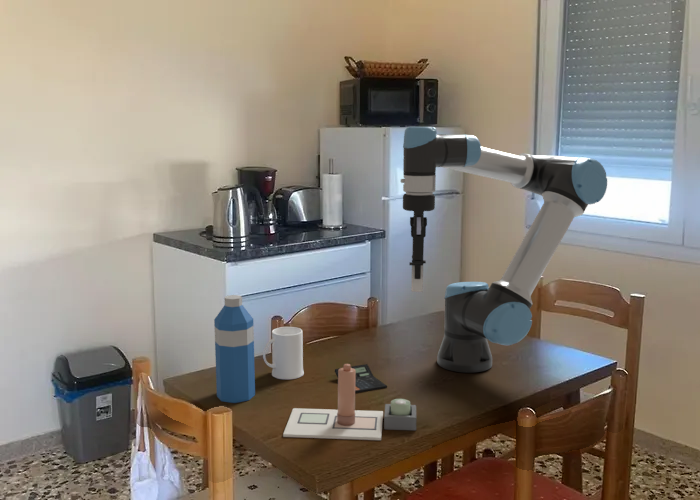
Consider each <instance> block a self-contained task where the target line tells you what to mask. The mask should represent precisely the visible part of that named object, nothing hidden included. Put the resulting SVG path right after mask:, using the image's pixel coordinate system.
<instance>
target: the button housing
mask: <svg viewBox="0 0 700 500" xmlns="http://www.w3.org/2000/svg"><path fill="white" fill-rule="evenodd" d="M383 419H384V420H383V421H384V422H383V427H384V428H383V430H389V431H393V430H394V431H417V405H416V404H410V415H391V403H384V414H383Z"/></svg>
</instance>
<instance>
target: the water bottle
mask: <svg viewBox="0 0 700 500" xmlns="http://www.w3.org/2000/svg"><path fill="white" fill-rule="evenodd" d="M213 320H214V350H215V351H214V352H215V353H214V355H215V377H216V378H215V380H216V381H215V382H216V397H217V398H218V399H219V400H220V402H225V403H231V404H237V403H241V402H242V403H243V402H247V401H250V400H251V399H252V398H254V396H255V395H256V383H255V382H256V381H255V380H256V377H255V376H256V375H255V373H256V372H255V340H254V339H255V336H254V334H255V333H254V331H255V329H254V327H255V325H254V318H253V316H252V314H250V313H249V311H248V310H247V309H246V308H245V306H244V305H243V296H242V295H239V294H233V295H232V294H231V295H226V296H224V306H223V307H222V308H221V310H220V311H219V312H218V314H217V316H216V317H215V318H214V319H213Z"/></svg>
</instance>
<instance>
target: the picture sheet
mask: <svg viewBox="0 0 700 500" xmlns="http://www.w3.org/2000/svg"><path fill="white" fill-rule="evenodd" d="M337 413H338V409H334V408H333V409H328V408H327V409H326V408H325V409H324V408H301V407H300V408H299V407H298V408H297V407H294V408H292V410H291V413H290V415H289V418H288V421H287V424H286V426H285V428H284V431H283V434H282V437H283V438H306V439H307V438H308V439H309V438H310V439H313V438H314V439H331V440H332V439H333V440H335V439H337V440H359V441H361V440H362V441H382V433H383V423H384V422H383V421H384V420H383V419H384V411H383V410H359V409H357V410H356V409H355V423H354V424H353V425H349V426H344V425H340V424H338V423H337Z"/></svg>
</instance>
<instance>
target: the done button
mask: <svg viewBox="0 0 700 500" xmlns="http://www.w3.org/2000/svg"><path fill="white" fill-rule="evenodd" d="M390 404H391V415H410V405H412V404H411V401H410V400H408V399H405V398H395V399H392V400H391V401H390Z"/></svg>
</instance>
